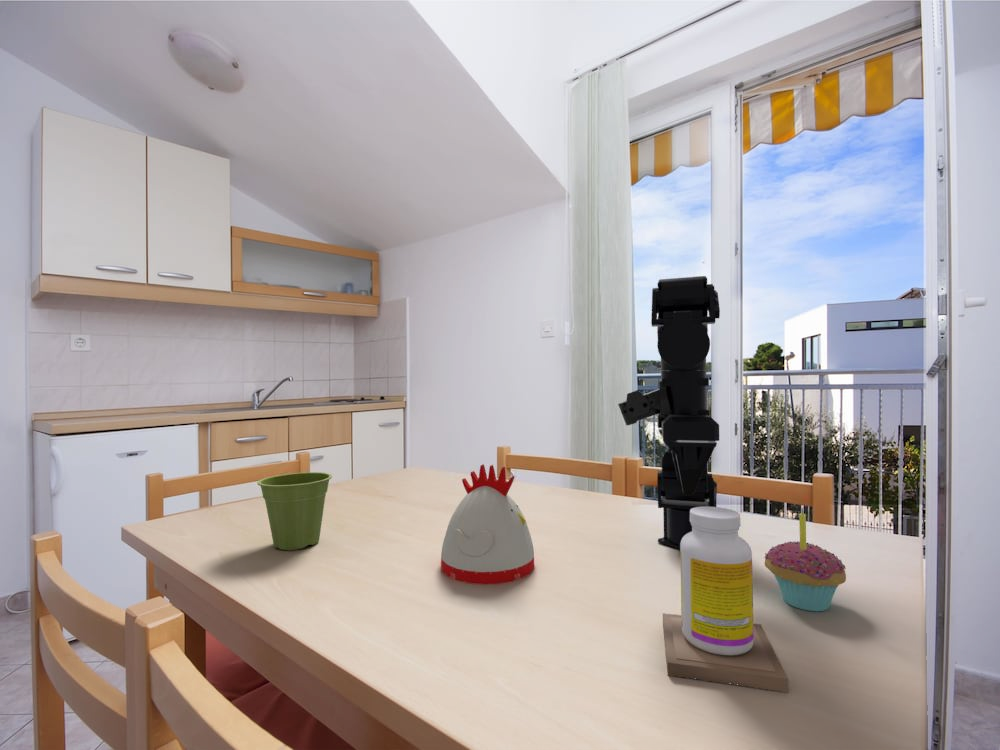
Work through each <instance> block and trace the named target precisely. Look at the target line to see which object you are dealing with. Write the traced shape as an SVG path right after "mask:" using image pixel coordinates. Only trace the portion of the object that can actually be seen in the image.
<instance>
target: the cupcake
mask: <svg viewBox="0 0 1000 750" xmlns="http://www.w3.org/2000/svg"><path fill="white" fill-rule="evenodd" d="M800 510H801V512H800V513H799V517H798V519H799V520H798V521H799V522H798V523H799V541H787V542H784V543H780V544H777V545H775V546H771V548H770V549H769V551H767V552H766V553H764V554H765V556H764V566H765V567H766V569H768V570H769V571H770V572H771V573H772V574H773V576H774V577H775V579H776V581H777V584H778V587H779V589H780V592H781V595H782V598H783V600H784V602H785V603H787V604H788V605H790V606H791V607H794V608H797V609H800V610H803V611H808V612H824V611H827V610H829V608H830V605H831V603H832V600H833V597H834V595H835V592H836V590H837V589H838V587H839V586H840V585H841V584H844V583H846V581H847V574H846V569H847V568H846V565H845V564H843V562H842V560H841V559H839V558H838V556H837V555H835V553H832V552H830V551H828V550H827V549H824V548H822V547H820V546H818V544H816V545H815V544H814V543H809V542H807V520H806V519H807V518H806V517H807V514H806V513H804V507H801V509H800Z"/></svg>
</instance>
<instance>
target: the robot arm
mask: <svg viewBox="0 0 1000 750" xmlns="http://www.w3.org/2000/svg"><path fill="white" fill-rule="evenodd" d="M651 290H652V293H651V321H650V324H651V327H655V328H656V327H657V328H656V329H657V332H656V334H657V351H658V354H659V356H660V378H659V379H660V380H658V381H657V389H655V390H652V391H650V392H646V393H644V394H643V393H642V392H641V391H640V390H638V389H637V390H634V391H631V392H629V393H627V394H626V400H623V401H621V402H618V404H617V405H618V407H619V410H620V413H621V414H622V415H621V416H622V418H623V421H624V424H625V425H626V426H630V425H635V424H637V422H638V421H641V420H644V419H647V418H650V417H652V416H655V415H657V416H656V417H657V428H658V432H659V433H660V434H661V437H662V442H663V444H664V445H666V447H667V448H668V449H667V451H666V450H665V452H664V454H663V456H662V458H661V470H657V480H656V481H657V482H656V484H657V486H656V487H657V508H658V509H662V508H663V510H662V511H663V537H659V538H657V542H658V543H660V544H662V545H664V546H668V547H672V548H675V549H679V550H680V543H681V540H682V538H683V537H684V535H686V534H687V533H689V532H691V531H692V525H691V522H690V510H691V509H692V508H695V507H704V506H708V507H717V491H718V483H717V482H716V481H715V479H714V477H713V473H710V472H709V473H708V471H709V469H708V462H709V460H710V458H711V456H712V454H713V453H714V450H715V448H716V447H717V445H718V444H717V442H719V441H720V424H719V423H718V422H717V421H716V420H715V419H714V418H713V417H712V416H710V409H708V408H707V407H708V406H707V405H708V400H707V398H708V396H707V393H708V392H707V387H710V383H709V379H710V378H709V377H707V357H708V353H709V351H710V347H711V339H710V337H709V333H708V331H709V330H708V329H709V327H708V325H714V324H715V323H716V319H720V316H721V315H720V314H721V313H720V312H721V310H720V302H719V294H718V291H717V290H715V285H714V284H713V283H709V284H708V277H707V276H706V275H702V276H689V277H688V276H687V277H675V278H660V279H658V280H657V287H655V288H654V287H652V289H651Z"/></svg>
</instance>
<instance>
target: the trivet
mask: <svg viewBox="0 0 1000 750" xmlns="http://www.w3.org/2000/svg"><path fill="white" fill-rule="evenodd" d="M753 626H754V643H753V646H752V648H751V649H750V650H749V651H748V652H746V653H743V654H740V655H718V654H713V653H710V652H707V651H704V650H701V649H699V648H697V647H696V646H694V645H693V644H691V643H690V642H689V641H688V640H687V639H686V638H685V636H684V635H683V632H682V619H681V614H671V613H662V628H663V629H662V630H663V631H662V632H663V640H664V650H665V651H664V652H665V662H666V670H667V676H670V677H675V676H678V677H677V678H682V677H685V678H684V679H689V678H692V679H691V680H694V679H693V678H696V679H701V680H700V681H703V680H707V681H706V682H710V681H713V682H712V683H717V682H722V683H721V684H724V683H731V684H735V685H734V686H738V685H742V686H741V687H745V686H749V687H748V688H752V687H755V688H754V689H759V688H762V689H761V690H766V689H768V690H767V691H773V690H774V691H773V692H781V693H789V679H788V676H787V674H786V672H785V670H784V668H783V666H782V664H781V662H780V660H779V658H778V656H777V654H776V651H775V650H774V648H773V645H772V643H771V641H770V640H769V638H768V636H767V634H766V632H765V630H764V628H763V626H762V624H761V623H753ZM696 679H695V680H696ZM731 684H730V685H731ZM737 684H738V685H737Z"/></svg>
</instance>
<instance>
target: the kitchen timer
mask: <svg viewBox="0 0 1000 750" xmlns="http://www.w3.org/2000/svg"><path fill="white" fill-rule="evenodd" d="M506 476H507V475H506V467H505V466H503V467H501V469H500V472H499V475H498V479H497V477H496V471H495V468H494V464H490V465H489V470H488V476H487V473H486V467H485V464H484V463H483V464H481V465H480V467H479V473H478V476H477V473H476V472H475V471H474V470H472V471H470V478H471V483H472V485H470V484H469V482H468V480H467V479H466V478H465V477H464V478H462V479H461V481H462V485H463V487H464V490H465V491H466V495H465V496H464V498H462V499H461V500H460V502H459V503H458V505H457V506H456V508H455V510H454V512H453V514H452V516H451V517H450V519H449V522H448V525H447V528H446V532H445V535H444V538H443V541H442V542H443V543H442V546H441V554H440V561H441V563H440V564H441V566H440V567H441V571H442V574H444V575H445V576H446V577H448V578H450V579H451V580H452V579H453V580H456V581H458V582H463V583H467V584H475V585H496V584H498V585H499V584H504V583H510V582H515V581H517V580H520V579H523V578H524V577H526V576H528V575H530V574H531V573H532V572H533V571H534V569H535V552H534V550H535V549H534V543H533V539H532V535H531V533H530V530H529V526H528V523H527V520H526V518H525V516H524V514H523V512H522V510H521V508H520V506H519V505H518V504H517V503H516V502H515V500H514V499H513V498H512V497H511V496H510V495H509V494H508V493H509V491H510V489H511V487H512V484H513V483H514V481H515V475H512V476H511V477H510V478H509V479H508V481H507V480H506V479H507V477H506Z"/></svg>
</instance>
